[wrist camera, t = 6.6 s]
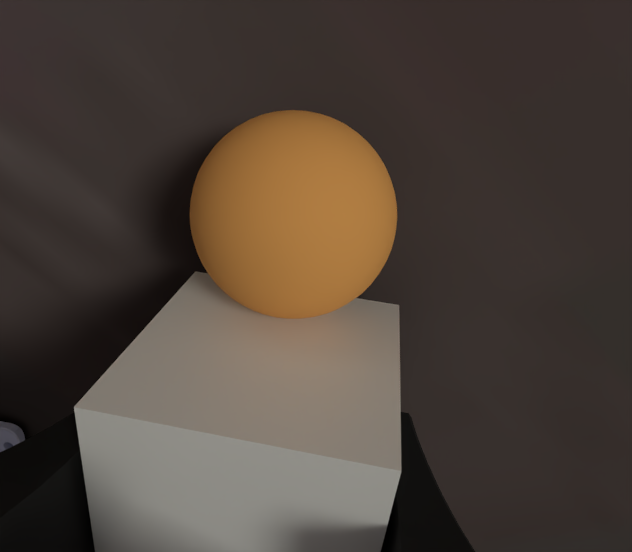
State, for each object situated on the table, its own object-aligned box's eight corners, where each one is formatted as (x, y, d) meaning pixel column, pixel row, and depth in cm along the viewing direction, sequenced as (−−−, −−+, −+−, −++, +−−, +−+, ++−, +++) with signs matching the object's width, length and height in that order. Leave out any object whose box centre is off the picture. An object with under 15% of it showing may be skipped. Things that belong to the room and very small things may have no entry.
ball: (380, 284, 15) (376, 376, 10) (224, 259, 15) (154, 337, 11) (410, 116, 13) (422, 139, 8) (230, 93, 13) (148, 103, 9)
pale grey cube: (366, 458, 16) (352, 660, 11) (195, 425, 17) (102, 602, 11) (398, 304, 14) (401, 471, 8) (195, 271, 14) (73, 406, 9)
